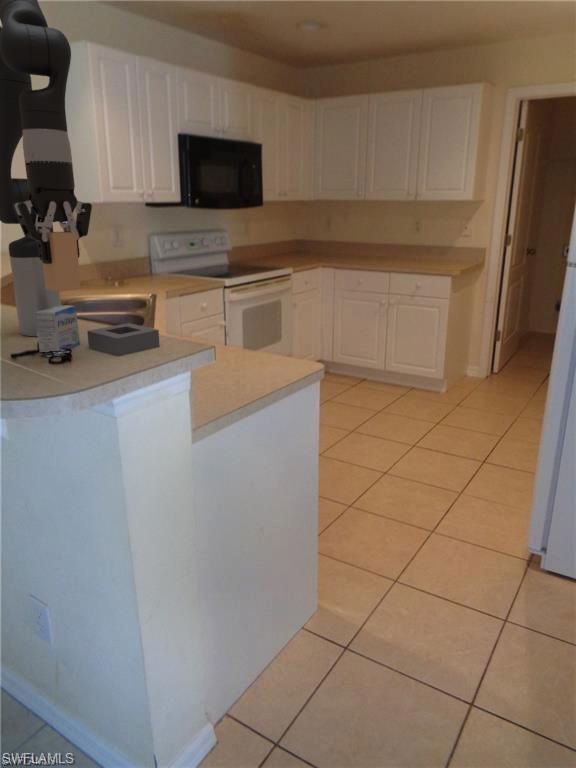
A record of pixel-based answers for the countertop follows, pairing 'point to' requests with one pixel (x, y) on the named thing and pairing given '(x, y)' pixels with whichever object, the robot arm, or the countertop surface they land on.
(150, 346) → the gray square socket block
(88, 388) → the countertop surface
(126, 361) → the countertop surface
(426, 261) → the countertop surface
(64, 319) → the medicine box
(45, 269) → the plug
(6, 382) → the countertop surface
